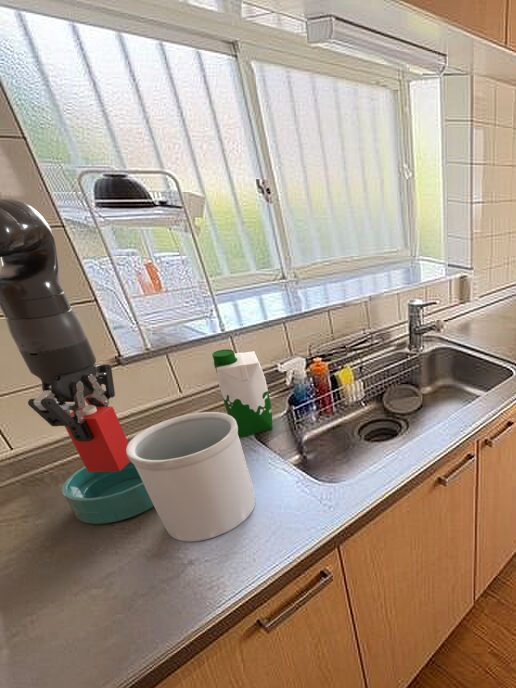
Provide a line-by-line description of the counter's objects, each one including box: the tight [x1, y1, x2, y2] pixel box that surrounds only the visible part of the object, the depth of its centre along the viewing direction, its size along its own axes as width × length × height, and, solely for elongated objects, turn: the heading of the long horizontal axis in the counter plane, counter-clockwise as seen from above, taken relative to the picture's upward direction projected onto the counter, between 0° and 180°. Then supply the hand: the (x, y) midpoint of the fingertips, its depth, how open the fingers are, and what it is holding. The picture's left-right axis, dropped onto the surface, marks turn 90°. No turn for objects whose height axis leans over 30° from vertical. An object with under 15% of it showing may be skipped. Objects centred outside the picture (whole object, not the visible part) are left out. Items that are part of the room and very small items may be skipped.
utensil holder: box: [126, 411, 256, 542], centre depth 73 cm, size 15×15×18 cm
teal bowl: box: [61, 461, 154, 525], centre depth 78 cm, size 14×14×6 cm
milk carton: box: [212, 348, 273, 438], centre depth 98 cm, size 9×9×20 cm
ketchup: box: [64, 404, 130, 472], centre depth 73 cm, size 5×4×12 cm
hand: (96, 432), depth 72 cm, fingers closed on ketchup, 4 cm apart
